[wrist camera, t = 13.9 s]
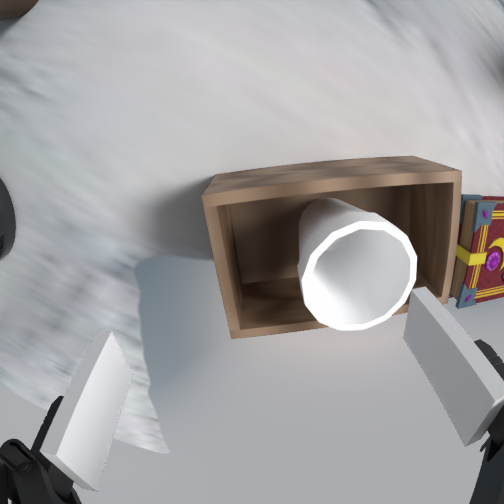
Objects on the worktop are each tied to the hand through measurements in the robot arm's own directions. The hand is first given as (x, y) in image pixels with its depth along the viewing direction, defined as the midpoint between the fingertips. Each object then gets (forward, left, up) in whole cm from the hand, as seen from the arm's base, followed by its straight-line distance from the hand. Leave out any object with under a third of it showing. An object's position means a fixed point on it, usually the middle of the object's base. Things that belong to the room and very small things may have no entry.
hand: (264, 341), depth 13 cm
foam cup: (+7, -3, -23) cm, 24 cm away
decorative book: (+32, -10, -24) cm, 41 cm away
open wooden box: (+8, -3, -23) cm, 25 cm away
